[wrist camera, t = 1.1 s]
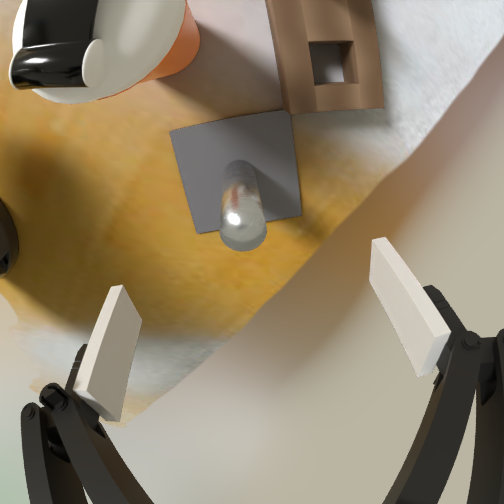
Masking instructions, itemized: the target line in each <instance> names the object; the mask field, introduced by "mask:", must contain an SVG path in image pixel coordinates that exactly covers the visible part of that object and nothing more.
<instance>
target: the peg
mask: <svg viewBox="0 0 504 504" xmlns="http://www.w3.org/2000/svg"><path fill="white" fill-rule="evenodd" d="M266 233H267V228H266V223H265V218H264V213H263V208H262V204H261V199H260V194H259V189H258V185H257V180H256V175H255V171H254V168H253V166H252V165H251V164H250V163H249V162H247V161H244V160H235V161H232V162H231V163H229V164H228V165H227V166H226V168H225V170H224V178H223V191H222V204H221V218H220V237H221V239H222V241H223V242H224V244H225V245H226V246H228V247H229V248H231V249H233V250H236V251H249V250H253V249H255V248H257V247H258V246H259V245H260V244H261V243H262V242H263V241H264V239H265V237H266Z"/></svg>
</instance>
